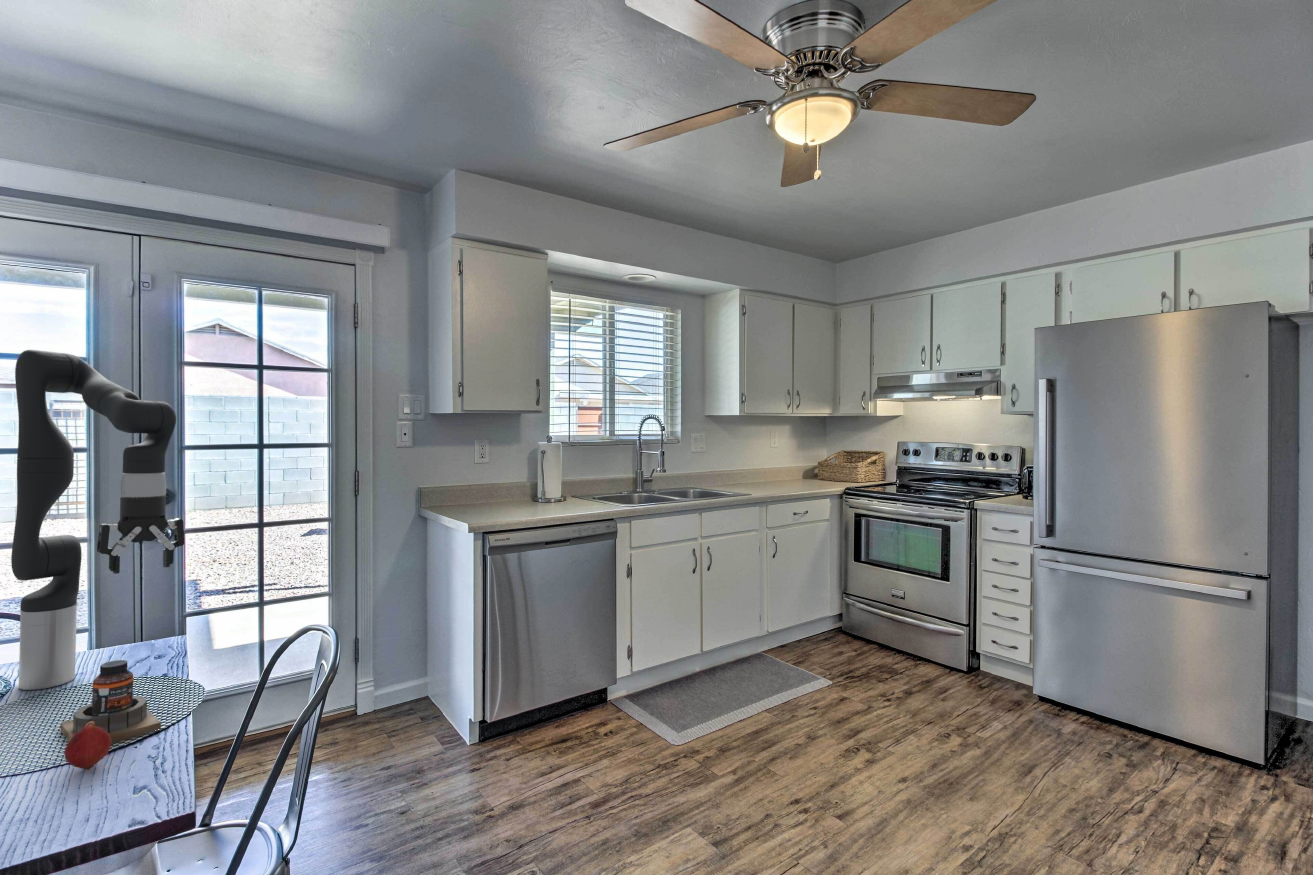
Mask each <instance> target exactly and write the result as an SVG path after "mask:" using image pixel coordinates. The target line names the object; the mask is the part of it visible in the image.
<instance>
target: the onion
mask: <svg viewBox="0 0 1313 875" xmlns="http://www.w3.org/2000/svg"><path fill="white" fill-rule="evenodd" d="M111 747H112V744H111V737H110V735H109V733H108V732H107V731H105V730H104V729H102V728H100V727H96V726H95V722H94V721H92V722H89V723H88V724H86V726H85V727H84V728H82V729H81V730H80V731H78V732H77V733H76V734H75V735H74V736H73V737H72V738H71V739H70V741H69V742H68V743H67V745H66V747H65V748H64V749H65V750H64V759H65V761H67V763H68V764H69V765H70V766H72V767H74V768H78V769H83V770H91V769H93V768H94V767H95V765H97V764H98V763H99V762H100V761H101V760H103V759H104V758H105V756H107V755H108V753H109V752H110V749H111Z"/></svg>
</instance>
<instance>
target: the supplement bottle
mask: <svg viewBox="0 0 1313 875" xmlns="http://www.w3.org/2000/svg"><path fill="white" fill-rule="evenodd" d="M99 666H100V668H99V672H100V673H99V674H98V675H96V677H94V679H93V682H92V693H91V694H92V696H91V697H92V698H91V703H92V716H102V715H110V714H114V713H118V712H122V711H125V710H127V709H129V708H132V706H133V705H132V701H133V696H134V674H133V672H132V671H131V670H128V667H129V666H128V660H125V659H120V660H119V659H118V660H111V661H107V662H104V663H102V664H100V665H99Z"/></svg>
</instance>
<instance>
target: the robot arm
mask: <svg viewBox="0 0 1313 875" xmlns="http://www.w3.org/2000/svg"><path fill="white" fill-rule="evenodd" d="M14 370H15V371H14V378H15V379H14V380H15V391H16V402H17V413H18V414H17V415H18V440H17V441H18V442H17V455H16V456H17V457H16V458H17V459H16V486H17V487H16V515H15V525H14V529H13V530H14V532H13V538H12V546H11V555H10V556H11V558H10V561H11V569H12V570H11V571H12V573H13V575H14V577H15V579H16V580H18V581H23V582H25V581H33V580H39V579H47V578H52V579H51V580H50V582H48V583H47V584H46V585H44V586H43V587H41V588H39V589H38V590H35V591H33V592H31V593H29V594H27V595H24V596H23V597H22V599H21V600H20V615H19V616H20V619H19V620H20V622H19V625H20V628H19V658H18V659H19V661H18V664H19V666H18V667H19V668H18V689H19V690H24V691H32V690H35V691H36V690H43V689H48V688H54V687H58V686H60V685H64V684H67V683H69V682H71V681H74V679H75V678H76V660H77V659H76V655H77V654H76V653H77V648H76V647H77V608H78V607H77V606H78V604H77V602H78V595H79V591H80V590H79V589H80V578H81V567H82V557H83V556H82V554H83V552H82V545H81V542H80V540H79V538H78V537H76V535H75V536H74V535H73V534H63V535H61V534H60V535H53V536H52V535H51V536H42V537H40V532H41V529H42V524H43V522H44V520H45V517H46V516H47V514H48V512H49V511H50V510H51V508H52V507H53V505H54V504H55V503H57V501H58V500H59V499H60V497H62V496H63V494H64V493H65V491H67V489H68V488H69V486H70V485H71V483H72V482H73V478H74V473H75V472H74V467H75V465H74V464H75V454H74V453H75V452H74V448H73V446H72V444H71V443H70V441H69V440H68V438H67V437H66V435H65V434H64V433H63V432H62V430H61V429H60V428H59V426H57V424H56V422H55V420H53V418H52V416H51V414H50V412H49V410H48V404H47V403H48V402H47V397H46V396H47V395H46V394H47V393H56V394H67V393H73V394H77V395H81V398H82V400H83V403H85V405H86V406H87V407H88V408H90V409H91V410H92V411H94V412H96V413H98V414H99V415H102V416H103V417H106V419H108V421H109V422H110V424H112V426H113V427H114V429H117V430H118V431H121V432H123V433H127V434H146V436H145V438H144V440H143V441H142V442H140V443H138V444H133V445H132V444H130V445H128V446H126V447H125V448H124V449H123V453H122V476H121V480H120V492H119V493H120V495H119V502H120V503H119V521H118V522H117V523H113V524H112V523H108V524H107V523H100V525H99V527H98V533H97V534H98V535H97V544H96V546H97V547H96V551H97V553H100V554H103V555H107V556H108V570H109V571H111V572H112V574H114V575H116V574H120V572H121V570H120V569H121V568H120V566H121V565H120V564H121V555H119V554H120V553H121V552H122V551H123V550H124V548H126V547H127V546H129V544H130V543H135V544H136V543H142V542H154V540H156V541H157V542H158V543H160V545H161V546H163V548H164V549H163V550H162V551H163V552H162V553H163V554H162V556H163V557H162V566H163V568H170V567H171V565H173V563H174V555H175V554H174V551H175V549H176V548H178V547H182V546H184V545H185V531H184V530H185V528H184V520H183V519H182V518H179V517H175V518H174V519H167V518H166V509H167V508H166V504H167V502H166V501H167V499H166V498H167V495H166V494H167V480H166V479H167V478H166V453H167V450H168V448H169V444H170V440H171V438H172V436H173V433H174V431H175V427H176V424H177V414H176V411H175V409H174V408H173V406H172V405H171V404H169V403H168V402H166V401H157V400H141V399H140V397H139V395H137V394H136V393H134V392H133V391H131V390H129V389H127V388H125V387H123V386H121V385H119V384H117V383H115V382H113V381H111V380H109V379H107V378H106V377H105V376H103V375H102V374H101V373H100V372H99V371H97V370H96V369H95V368H94V367H92V366H91V364H90V363H88V362H86V361H85V360H84V359H82V358H81V357H79V356H77V355H75V354H72V353H71V354H70V353H65V352H56V351H47V350H38V349H26V350H23V351H22V352H21V353H20V354H19V355H18V357H17V360H16V362H15V368H14ZM168 526H169V527H170V529H172V530H173V541H170V540H169V538H168V537H167V536H166V535H165V534H164V533H163V532H164V530H166V528H167V527H168ZM116 530H117V531H118V532H119V533H120V534H121V535H120V537H118V539H117V540H116V541H115V543H114V544H113V545H112V546H111V547H109V540H110V539H109V537H110V535H113V534H114V533H115V532H114V531H116Z"/></svg>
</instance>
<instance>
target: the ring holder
mask: <svg viewBox="0 0 1313 875" xmlns="http://www.w3.org/2000/svg"><path fill="white" fill-rule="evenodd" d="M132 705H133V706H132V708H129V709H127V710H125V711H122V712H118V713H114V714H110V715H102V716H92V702H91V703H89V704H86V705H84V706H82V707H80V708H78V709H77V710H76V711H75V712H74V713H73V715H72V718H73V719H69V720H67V721H62V722H60V727H59V729H60V730H61V731H60V732H61V733H63V734H64V735H63V734H62V735H63V736H64V738H65V737H66V738H67V739H66V738H65V739H66V741H67V742H68V741H70V739H71V738H72V737H73V736H74V735H75V734H76V733H77V732H78V731H80V730H81V729H82V728H84V727H85V726H86V724H88V723H89V722H92V721H94V722H95V726H96V727H100V728H102V729H104V730H105V731H107V732H108V733H109V735H110V737H111V745H113V744H116V743H117V744H118V743H121V742H124V741H127V740H131V739H133V738H134V737H135V738H138V737H142V736H144V735H143V734H145V735H147V734H146V733H148V734H151V733H150V732H152V731H155V730H158V729H161V728H162V726H161V725H162V723H161V721H160V720H159V719H158V718H157V717H156V716H155V715H154V714H152V713H151V712H150V711H149V710H148V699H147V698H145V697H144V696H142V695H141V696H140V695H133V701H132ZM155 732H156V731H155ZM152 733H153V732H152Z"/></svg>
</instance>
